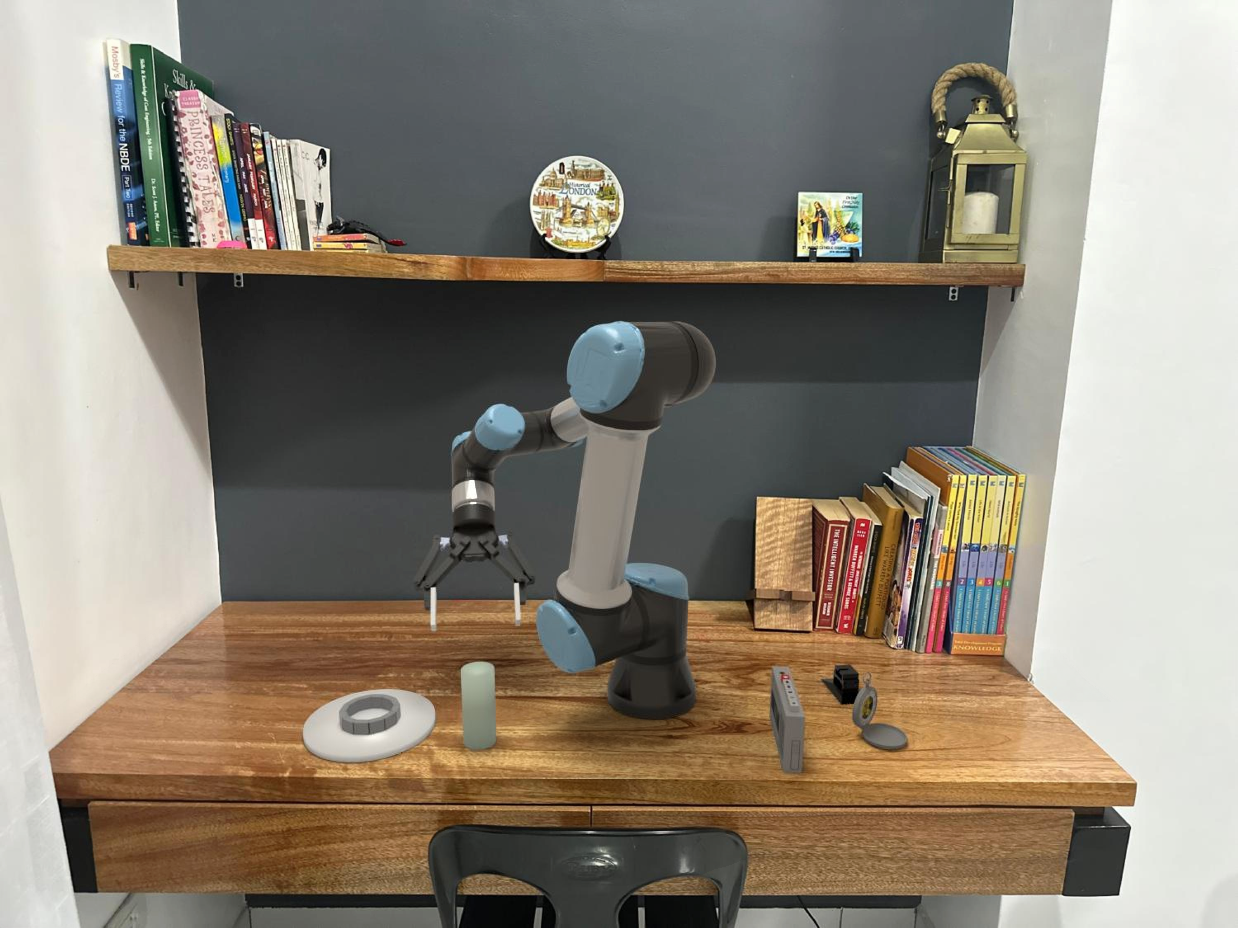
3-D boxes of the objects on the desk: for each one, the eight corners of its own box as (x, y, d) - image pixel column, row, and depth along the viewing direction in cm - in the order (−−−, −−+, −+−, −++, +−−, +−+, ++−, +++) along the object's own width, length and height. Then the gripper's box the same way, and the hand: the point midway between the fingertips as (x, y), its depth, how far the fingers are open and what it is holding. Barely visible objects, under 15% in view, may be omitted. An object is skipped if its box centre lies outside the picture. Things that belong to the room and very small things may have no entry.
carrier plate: (447, 695, 136) (446, 678, 136) (418, 762, 117) (417, 743, 116) (330, 695, 136) (328, 677, 136) (282, 761, 117) (280, 742, 116)
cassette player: (769, 716, 131) (772, 660, 129) (785, 717, 131) (789, 661, 128) (782, 772, 115) (786, 709, 113) (801, 773, 115) (805, 710, 113)
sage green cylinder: (498, 732, 125) (496, 661, 123) (493, 750, 120) (491, 676, 118) (466, 732, 125) (464, 661, 123) (460, 749, 120) (457, 676, 118)
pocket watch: (909, 754, 120) (915, 693, 118) (851, 747, 122) (856, 687, 120) (902, 726, 128) (907, 668, 126) (847, 720, 130) (852, 663, 128)
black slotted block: (812, 677, 145) (814, 654, 144) (850, 675, 146) (852, 652, 145) (840, 712, 133) (841, 687, 132) (881, 709, 134) (883, 684, 133)
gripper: (543, 519, 147) (551, 629, 135) (403, 525, 142) (399, 638, 131) (545, 498, 140) (553, 611, 129) (398, 504, 136) (394, 621, 125)
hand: (476, 625), depth 130 cm, fingers open, 13 cm apart
